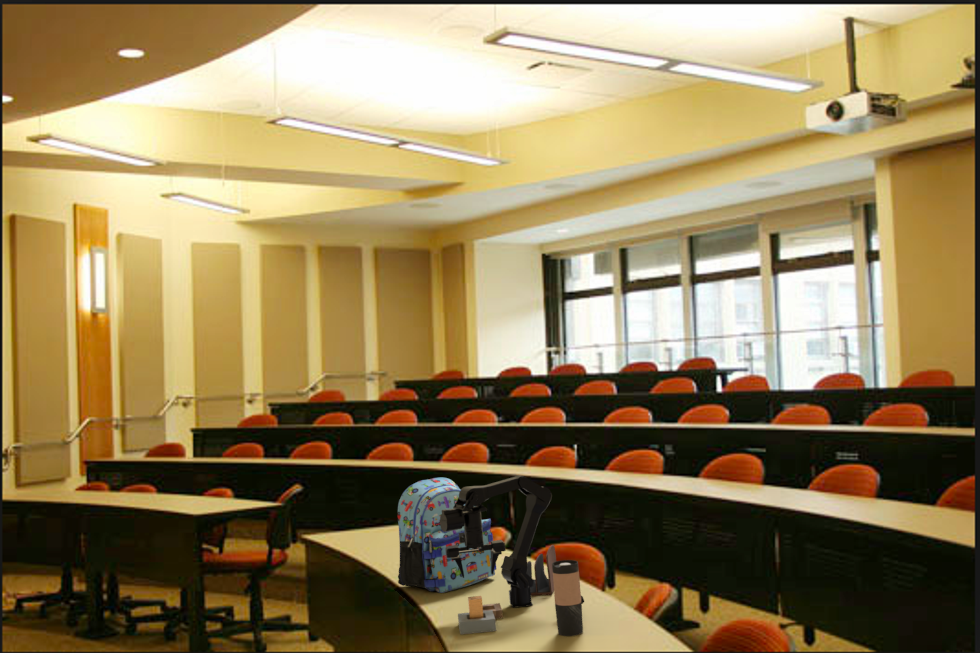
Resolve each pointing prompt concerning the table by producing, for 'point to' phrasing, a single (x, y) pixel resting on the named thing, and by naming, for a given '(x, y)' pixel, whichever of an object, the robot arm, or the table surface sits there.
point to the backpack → (436, 540)
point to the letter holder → (542, 574)
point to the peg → (475, 607)
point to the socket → (476, 623)
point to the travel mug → (567, 597)
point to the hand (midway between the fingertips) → (477, 575)
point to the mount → (494, 609)
